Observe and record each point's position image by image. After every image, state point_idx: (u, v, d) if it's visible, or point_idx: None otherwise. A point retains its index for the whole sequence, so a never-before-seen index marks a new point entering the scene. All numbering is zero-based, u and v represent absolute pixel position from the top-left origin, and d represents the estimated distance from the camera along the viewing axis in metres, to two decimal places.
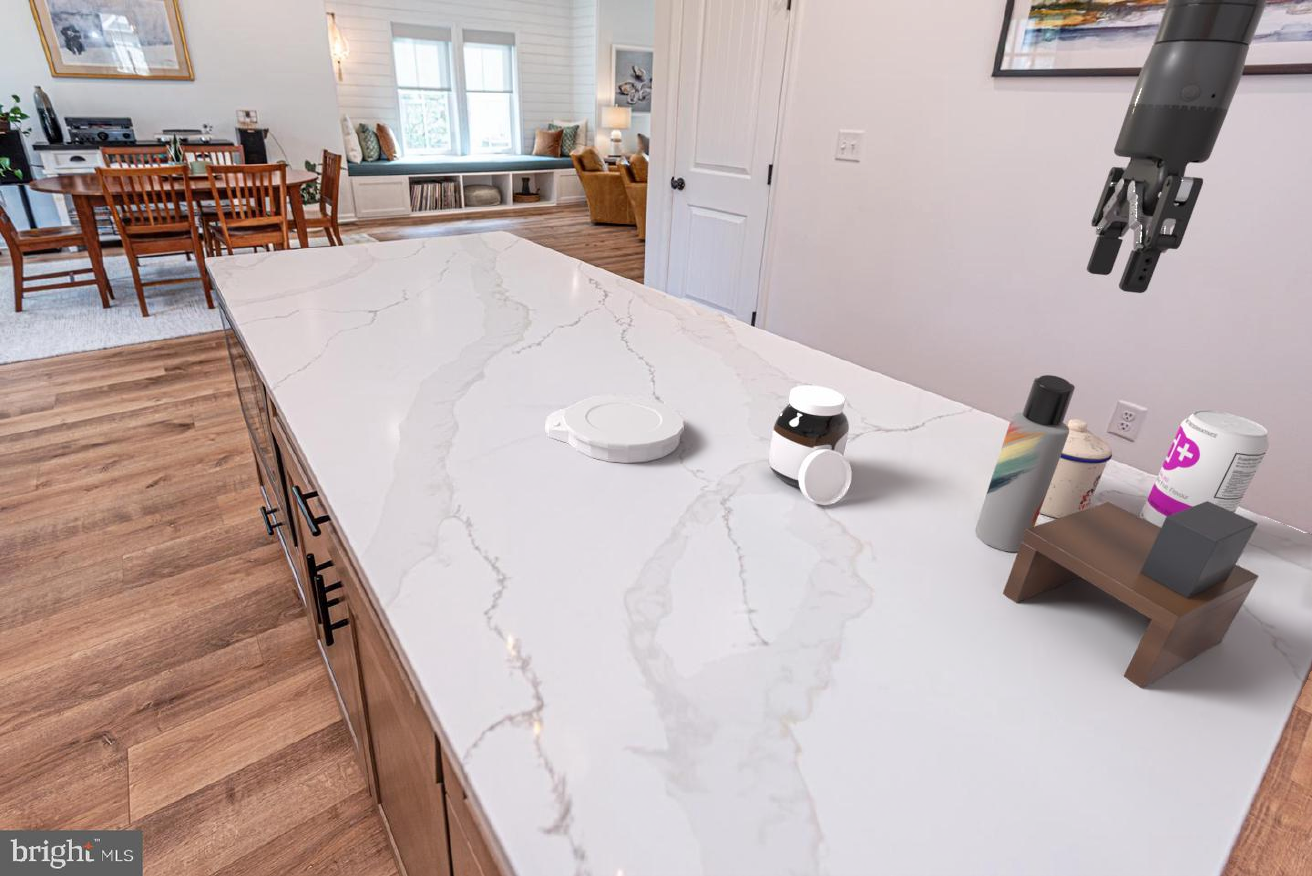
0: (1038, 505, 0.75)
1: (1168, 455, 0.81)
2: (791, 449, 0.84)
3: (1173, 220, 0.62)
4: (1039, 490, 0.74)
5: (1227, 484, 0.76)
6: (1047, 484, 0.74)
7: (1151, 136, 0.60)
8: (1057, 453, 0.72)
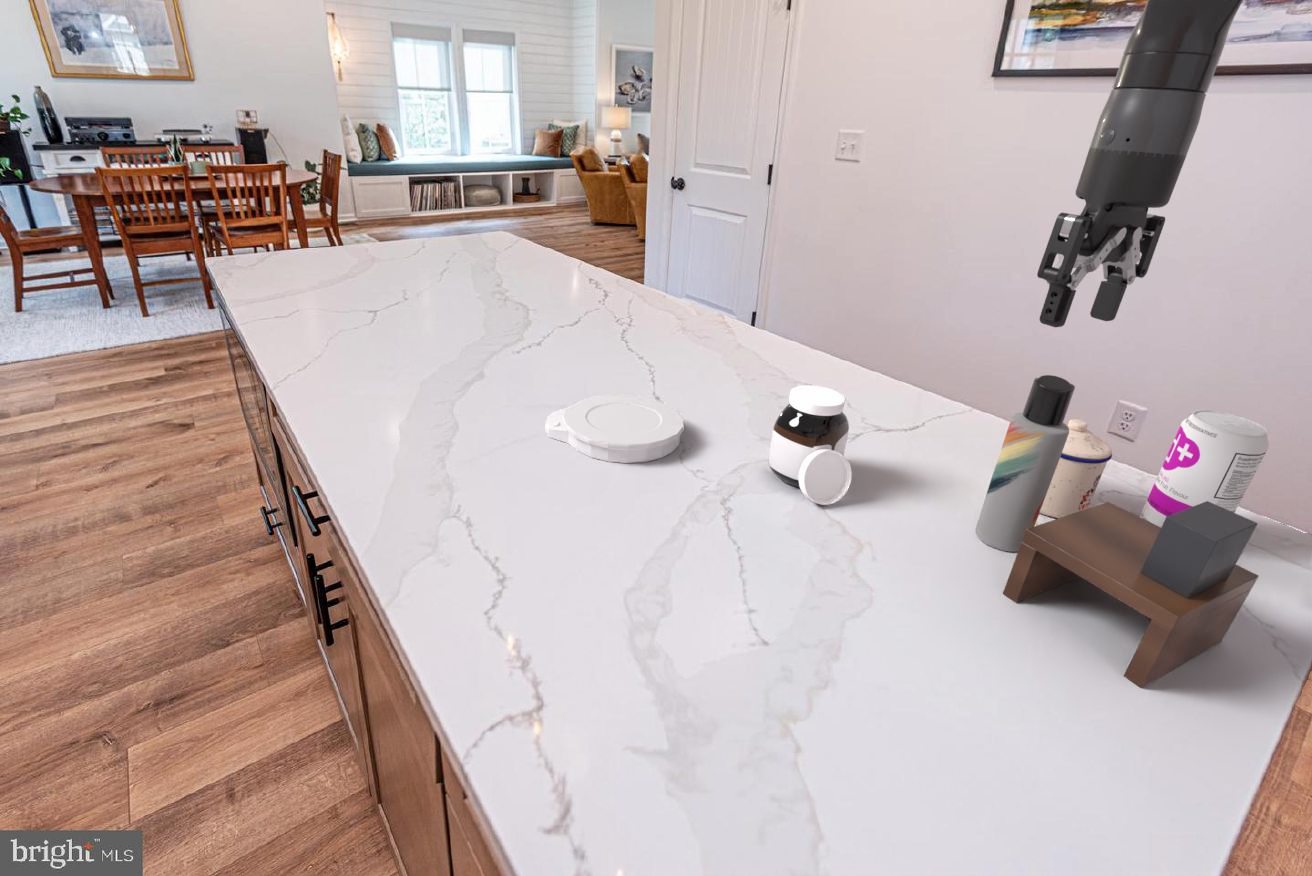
0: (1038, 505, 0.75)
1: (1168, 455, 0.81)
2: (791, 449, 0.84)
3: (1091, 259, 0.62)
4: (1039, 490, 0.74)
5: (1227, 484, 0.76)
6: (1047, 484, 0.74)
7: (1082, 178, 0.63)
8: (1057, 453, 0.72)
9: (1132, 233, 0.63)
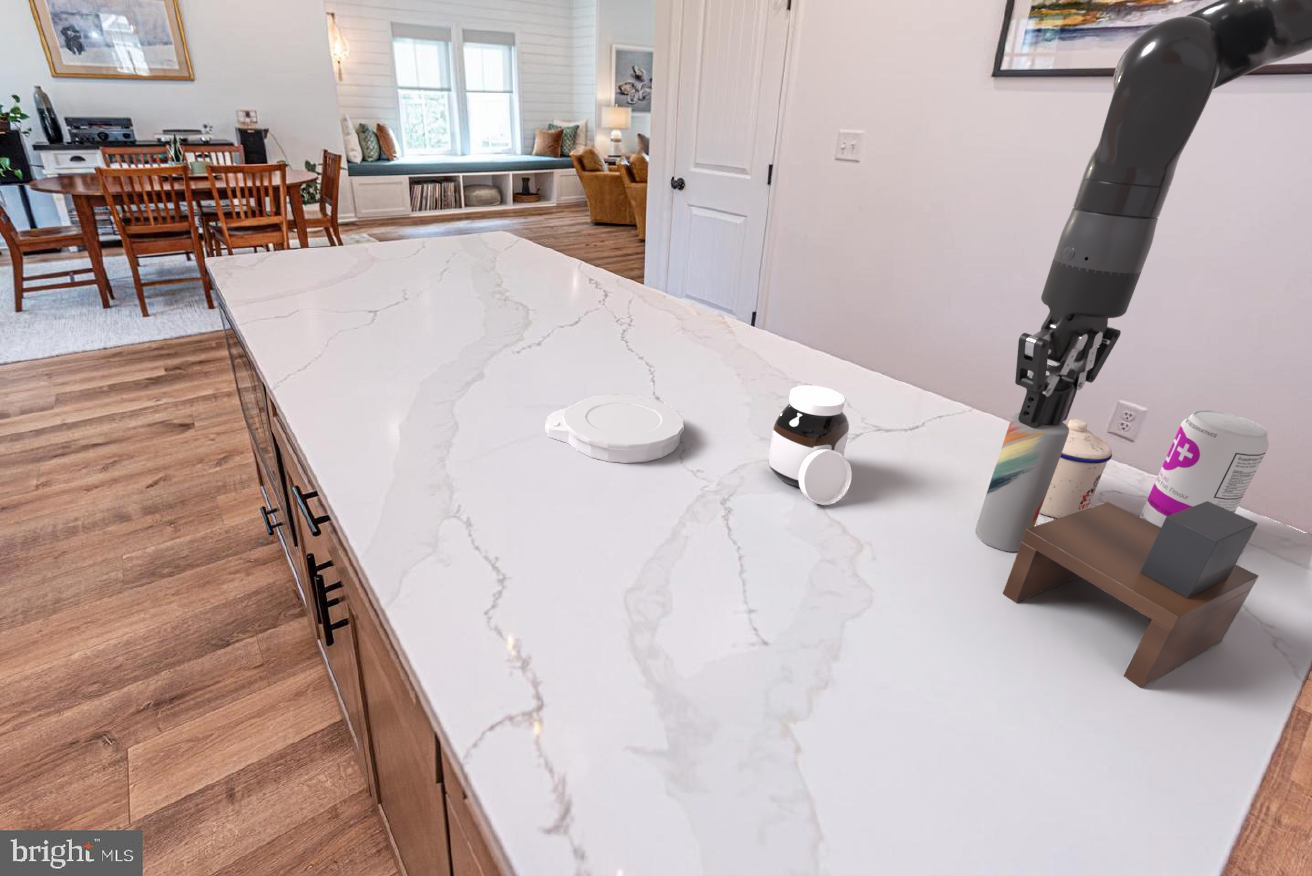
0: (1038, 505, 0.75)
1: (1168, 455, 0.81)
2: (791, 449, 0.84)
3: (1059, 370, 0.68)
4: (1039, 490, 0.74)
5: (1227, 484, 0.76)
6: (1047, 484, 0.74)
7: (1046, 286, 0.67)
8: (1057, 453, 0.72)
9: (1093, 337, 0.68)
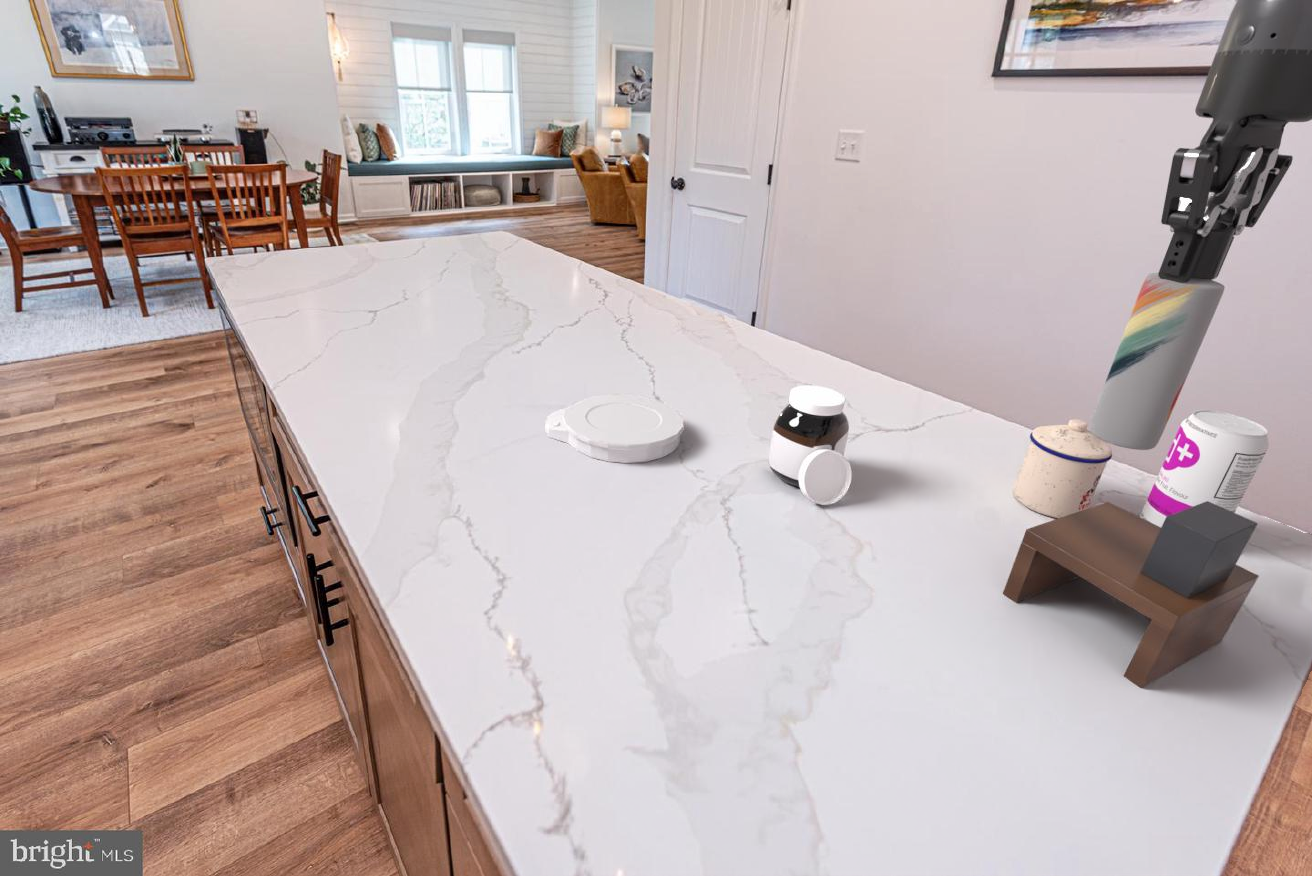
0: (1178, 387, 0.60)
1: (1168, 455, 0.81)
2: (791, 449, 0.84)
3: (1223, 198, 0.53)
4: (1182, 366, 0.59)
5: (1227, 484, 0.76)
6: (1192, 359, 0.59)
7: (1207, 90, 0.52)
8: (1209, 315, 0.57)
9: (1267, 156, 0.53)
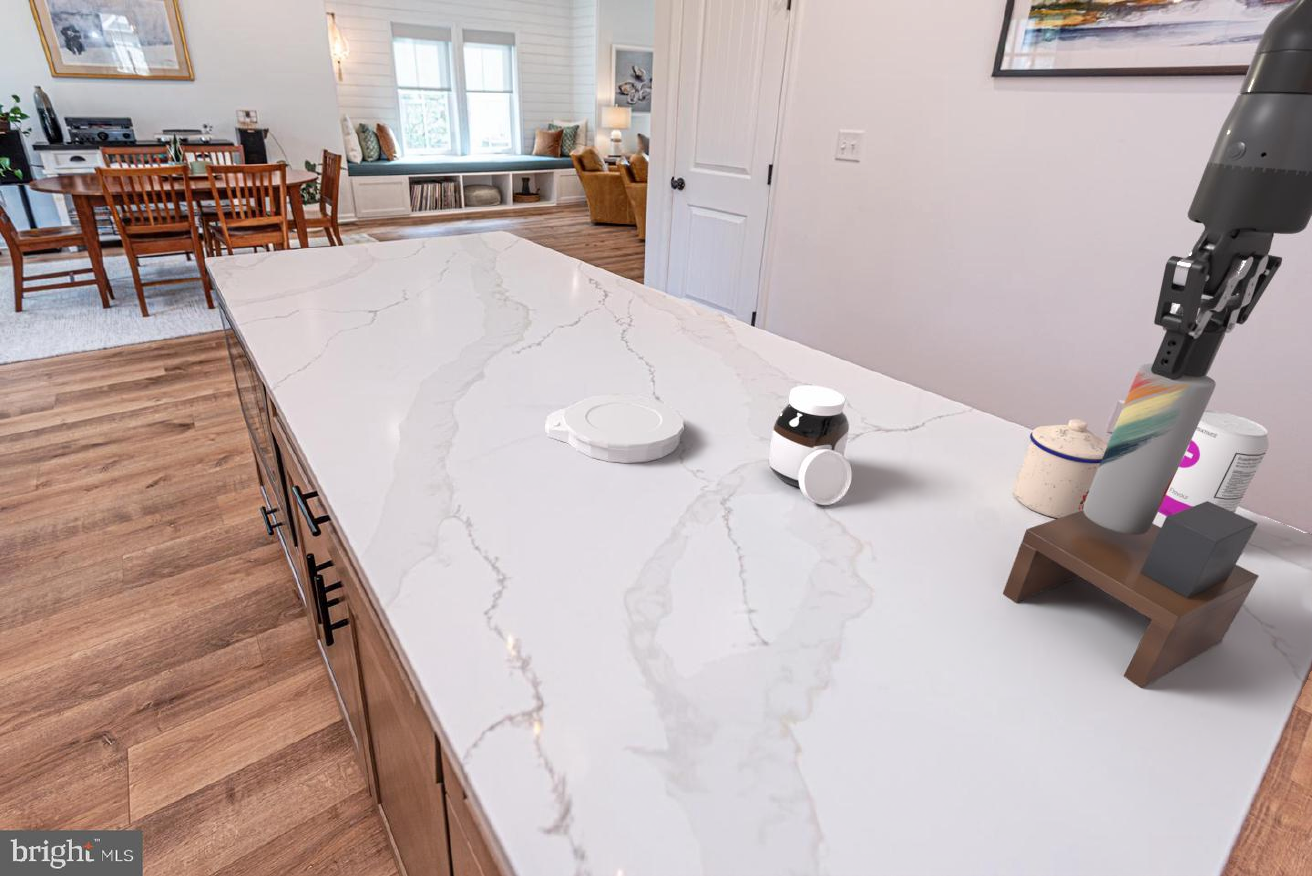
0: (1170, 477, 0.61)
1: None
2: (791, 449, 0.84)
3: (1214, 303, 0.54)
4: (1174, 458, 0.60)
5: (1227, 484, 0.76)
6: (1184, 451, 0.60)
7: (1199, 198, 0.54)
8: (1200, 411, 0.58)
9: (1257, 262, 0.54)
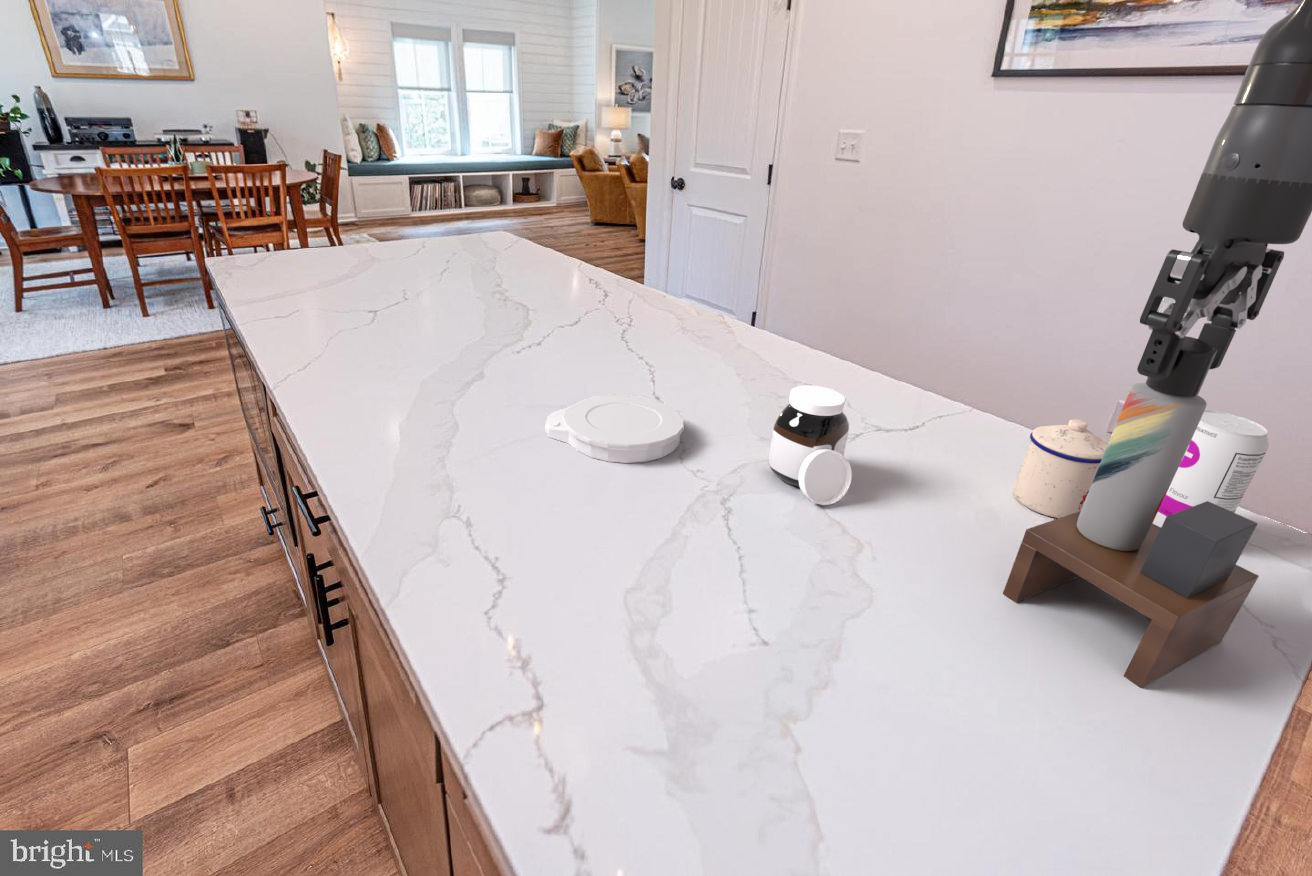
0: (1162, 495, 0.62)
1: None
2: (791, 449, 0.84)
3: (1205, 304, 0.53)
4: (1166, 476, 0.61)
5: (1227, 484, 0.76)
6: (1175, 469, 0.61)
7: (1194, 208, 0.54)
8: (1191, 431, 0.59)
9: (1251, 272, 0.54)
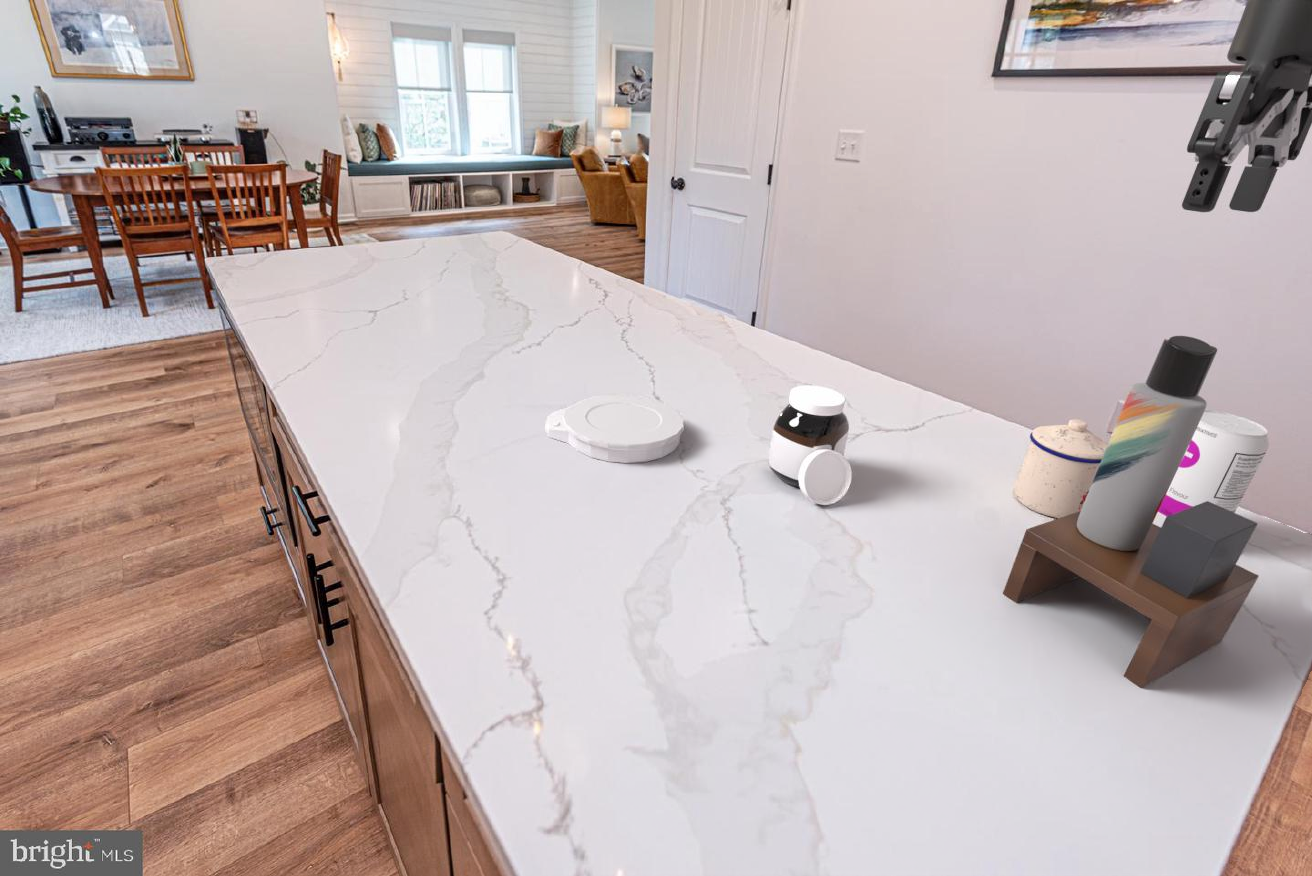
0: (1162, 495, 0.62)
1: None
2: (791, 449, 0.84)
3: (1253, 127, 0.54)
4: (1166, 476, 0.61)
5: (1227, 484, 0.76)
6: (1175, 469, 0.61)
7: (1240, 34, 0.55)
8: (1192, 431, 0.59)
9: (1297, 98, 0.55)
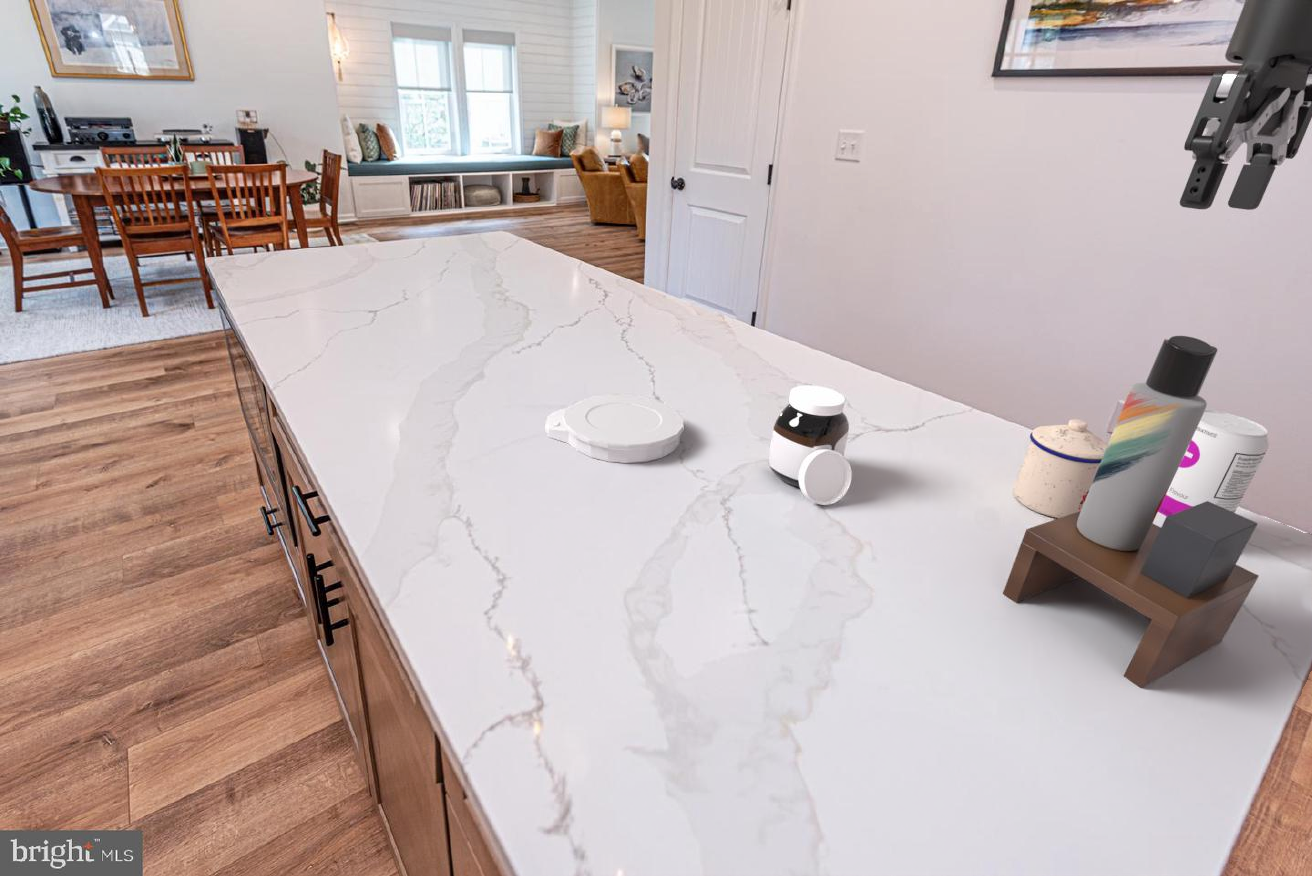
0: (1162, 495, 0.62)
1: None
2: (791, 449, 0.84)
3: (1249, 125, 0.55)
4: (1166, 476, 0.61)
5: (1227, 484, 0.76)
6: (1175, 469, 0.61)
7: (1238, 33, 0.55)
8: (1192, 431, 0.59)
9: (1294, 97, 0.56)
